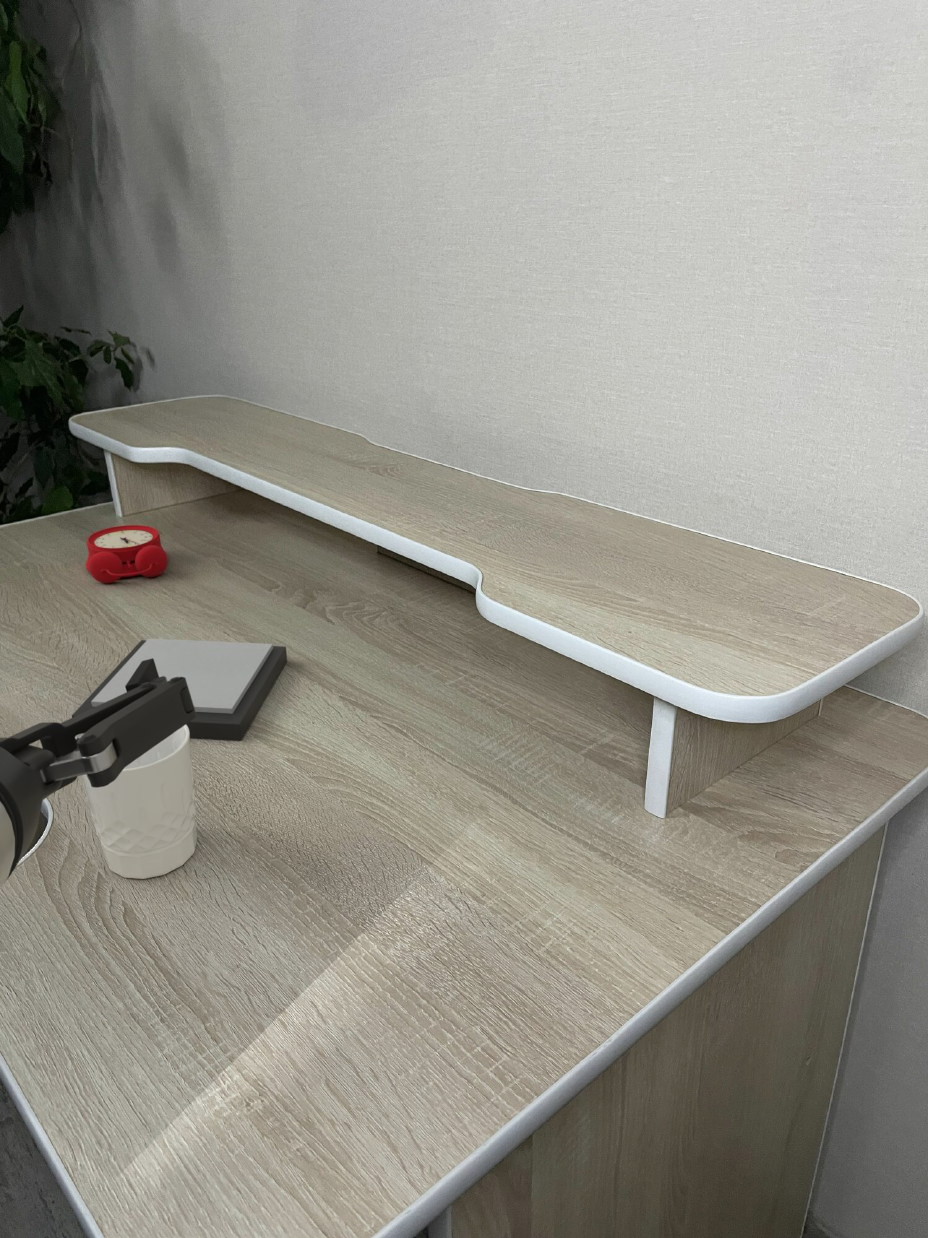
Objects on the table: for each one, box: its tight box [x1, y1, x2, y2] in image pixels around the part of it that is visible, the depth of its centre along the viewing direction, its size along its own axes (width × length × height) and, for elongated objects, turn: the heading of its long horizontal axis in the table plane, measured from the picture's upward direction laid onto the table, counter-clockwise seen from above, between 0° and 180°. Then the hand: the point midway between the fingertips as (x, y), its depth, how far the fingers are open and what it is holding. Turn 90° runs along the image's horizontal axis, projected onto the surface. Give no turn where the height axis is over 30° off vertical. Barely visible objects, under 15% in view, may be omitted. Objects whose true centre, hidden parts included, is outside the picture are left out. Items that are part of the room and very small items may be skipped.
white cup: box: [80, 725, 198, 880], centre depth 70 cm, size 8×8×10 cm
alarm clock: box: [85, 524, 169, 584], centre depth 124 cm, size 10×6×15 cm
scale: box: [71, 638, 288, 742], centre depth 93 cm, size 16×16×2 cm
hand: (49, 704), depth 61 cm, fingers open, 13 cm apart
